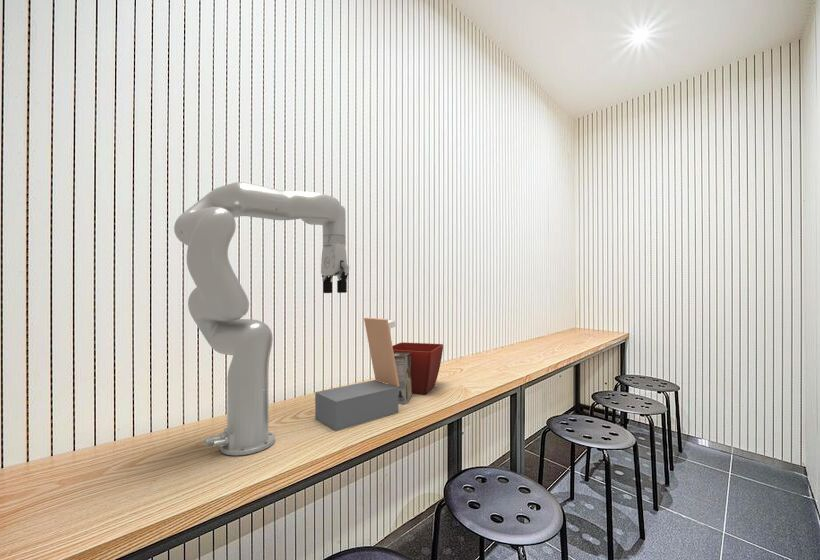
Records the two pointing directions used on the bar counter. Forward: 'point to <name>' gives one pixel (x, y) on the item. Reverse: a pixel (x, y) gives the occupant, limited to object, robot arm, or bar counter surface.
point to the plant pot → (422, 364)
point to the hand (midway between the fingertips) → (334, 292)
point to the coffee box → (403, 376)
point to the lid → (382, 350)
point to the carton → (355, 404)
